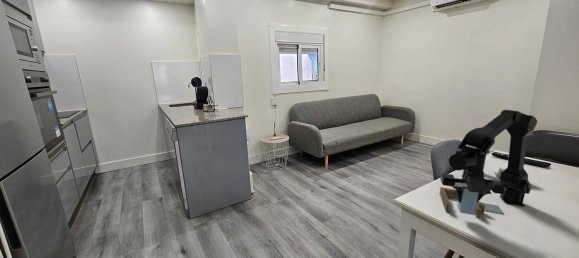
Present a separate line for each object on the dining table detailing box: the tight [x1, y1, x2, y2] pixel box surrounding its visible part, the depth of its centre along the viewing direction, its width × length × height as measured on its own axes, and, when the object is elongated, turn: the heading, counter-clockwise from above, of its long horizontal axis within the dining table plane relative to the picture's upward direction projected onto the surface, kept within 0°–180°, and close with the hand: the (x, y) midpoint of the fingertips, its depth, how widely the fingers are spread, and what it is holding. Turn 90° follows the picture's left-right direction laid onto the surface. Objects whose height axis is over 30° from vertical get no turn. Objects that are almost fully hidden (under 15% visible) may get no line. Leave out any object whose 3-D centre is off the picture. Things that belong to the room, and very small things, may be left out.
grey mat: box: [478, 201, 505, 215], centre depth 99 cm, size 6×6×1 cm
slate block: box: [457, 184, 479, 216], centre depth 91 cm, size 4×4×10 cm
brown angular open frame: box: [439, 187, 485, 219], centre depth 101 cm, size 14×16×4 cm
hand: (467, 203), depth 91 cm, fingers closed on slate block, 4 cm apart
